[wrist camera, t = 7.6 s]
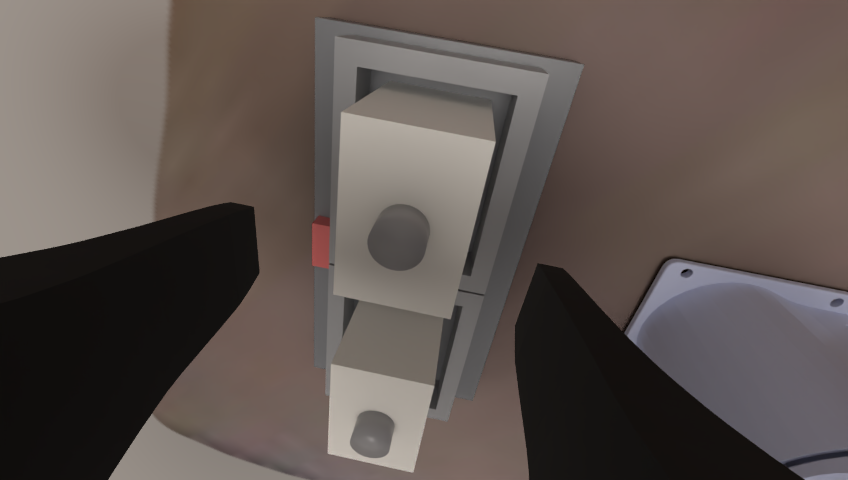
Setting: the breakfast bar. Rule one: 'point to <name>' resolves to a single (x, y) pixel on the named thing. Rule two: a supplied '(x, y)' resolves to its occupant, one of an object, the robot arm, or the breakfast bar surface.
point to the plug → (409, 195)
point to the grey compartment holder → (488, 251)
